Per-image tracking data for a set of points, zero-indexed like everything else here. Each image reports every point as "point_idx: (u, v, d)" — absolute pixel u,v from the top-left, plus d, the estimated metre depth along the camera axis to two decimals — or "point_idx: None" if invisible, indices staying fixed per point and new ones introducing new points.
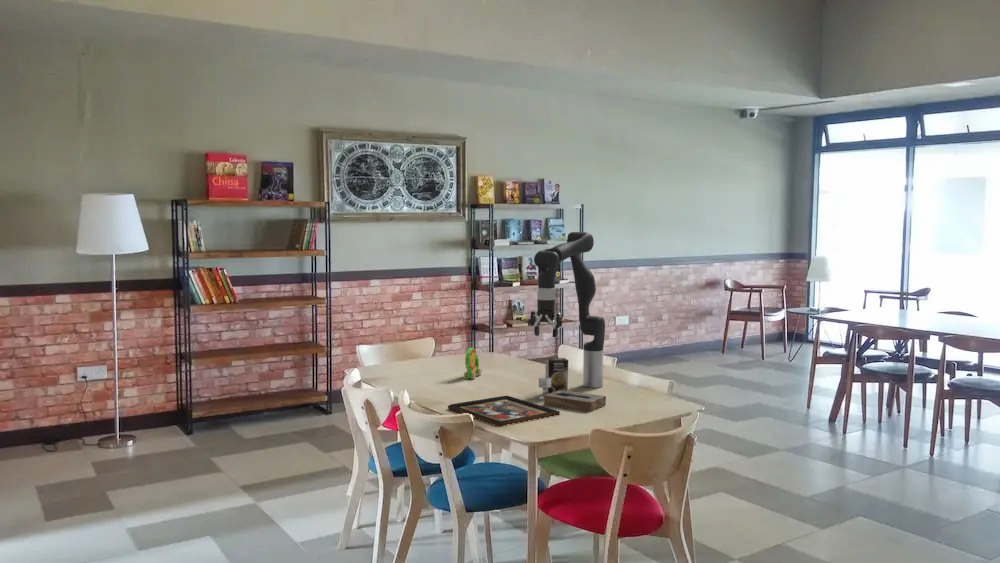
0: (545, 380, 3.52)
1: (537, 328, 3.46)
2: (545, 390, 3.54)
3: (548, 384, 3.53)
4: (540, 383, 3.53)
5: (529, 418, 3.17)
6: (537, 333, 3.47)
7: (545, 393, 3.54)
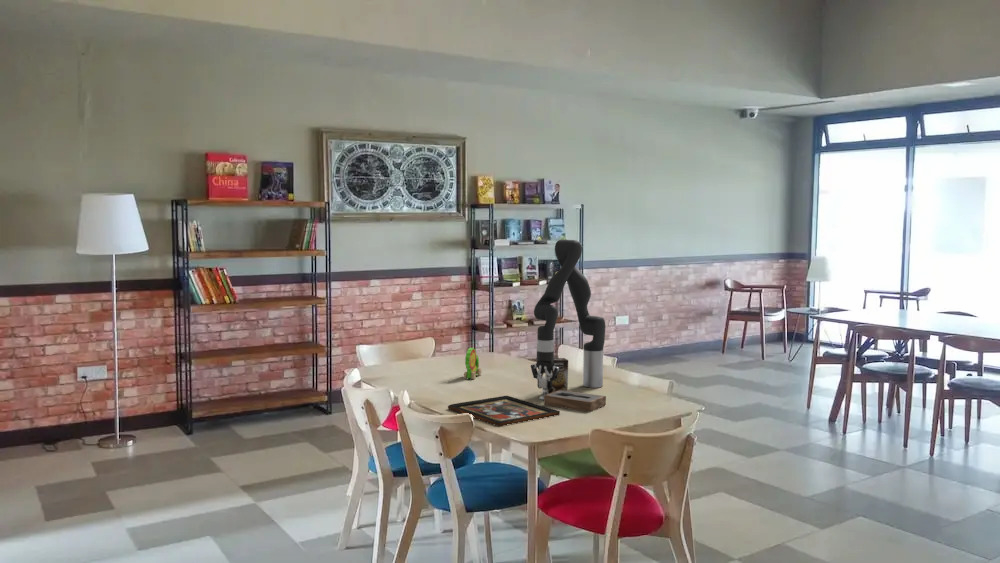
0: (545, 380, 3.52)
1: None
2: (545, 390, 3.54)
3: None
4: (540, 383, 3.53)
5: (529, 418, 3.17)
6: None
7: (545, 393, 3.54)
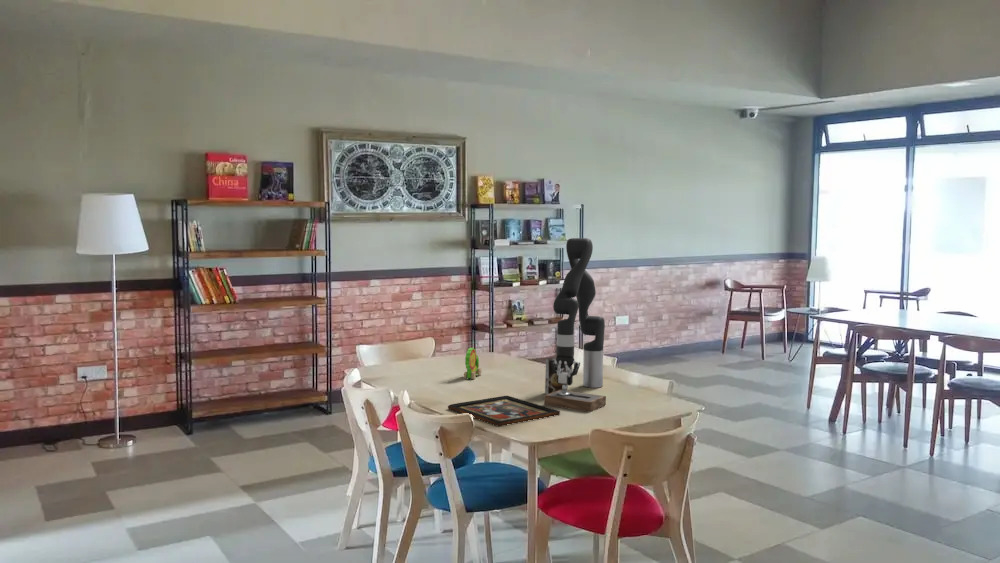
0: (565, 375, 3.44)
1: None
2: (565, 386, 3.45)
3: None
4: (560, 378, 3.45)
5: (529, 418, 3.17)
6: None
7: (565, 389, 3.46)
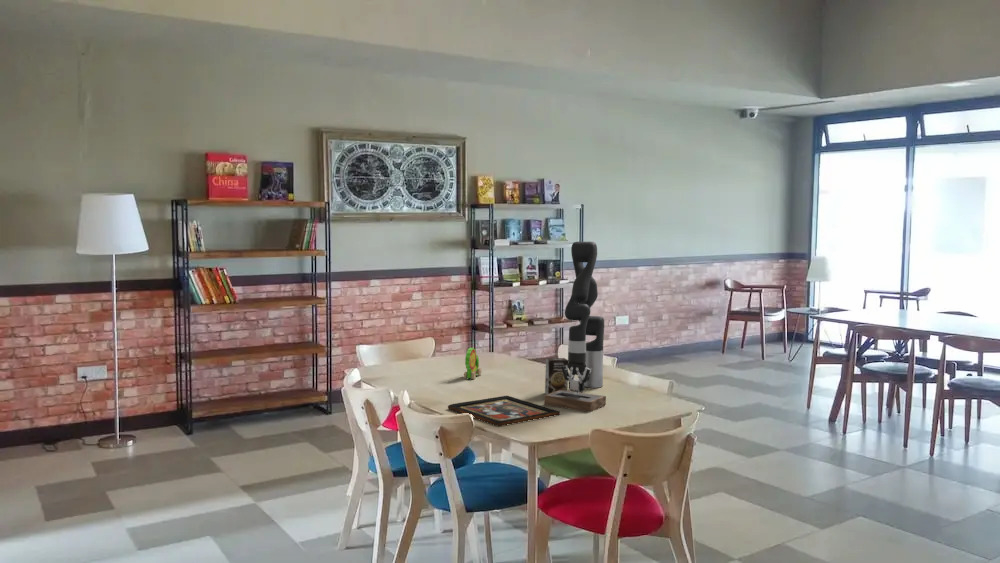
0: (577, 382, 3.41)
1: None
2: (577, 392, 3.42)
3: None
4: (571, 385, 3.42)
5: (529, 418, 3.17)
6: None
7: (577, 395, 3.43)
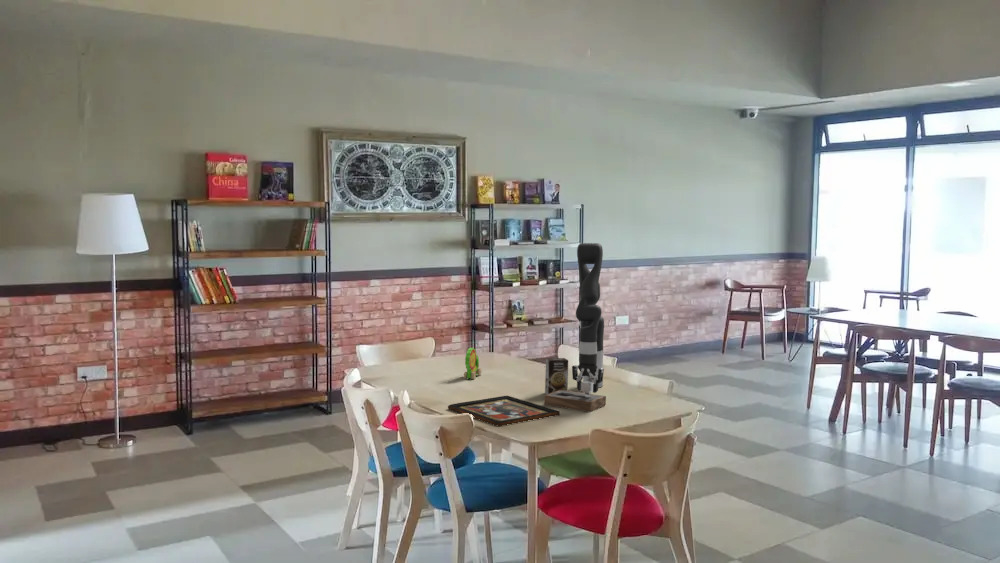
0: (588, 385, 3.38)
1: (580, 383, 3.42)
2: (588, 395, 3.40)
3: (591, 389, 3.39)
4: (582, 388, 3.39)
5: (529, 418, 3.17)
6: (580, 388, 3.42)
7: None
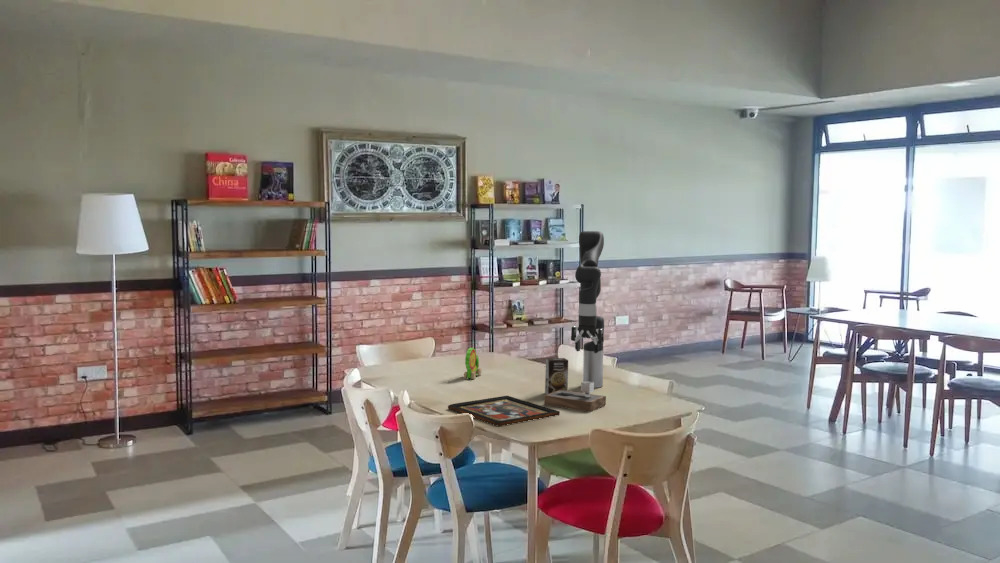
0: (588, 384, 3.38)
1: (578, 343, 3.44)
2: (588, 395, 3.40)
3: (591, 389, 3.39)
4: (582, 388, 3.39)
5: (529, 418, 3.17)
6: (578, 348, 3.44)
7: None
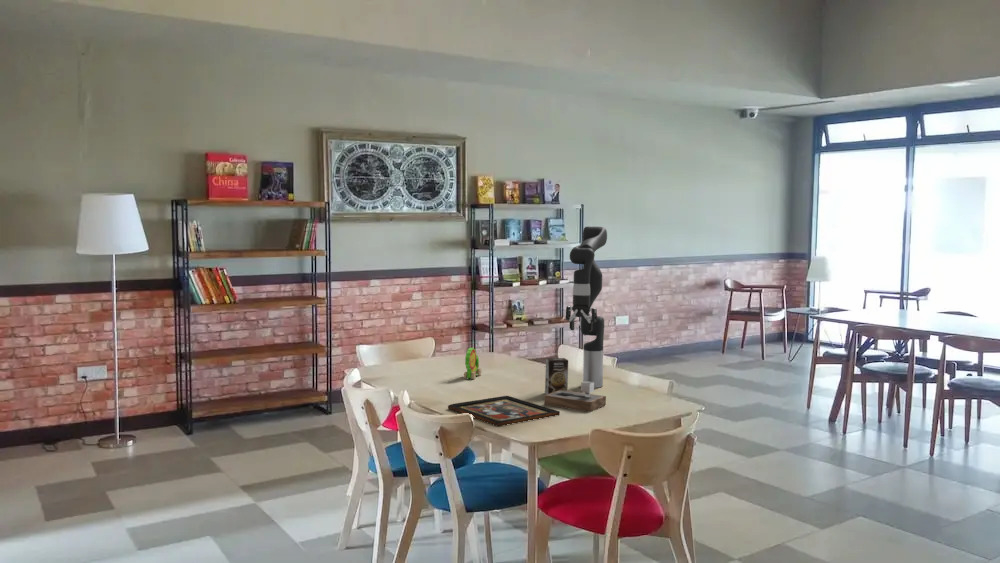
0: (588, 384, 3.38)
1: (572, 323, 3.56)
2: (588, 395, 3.40)
3: (591, 389, 3.39)
4: (583, 388, 3.39)
5: (529, 418, 3.17)
6: (572, 328, 3.56)
7: None
